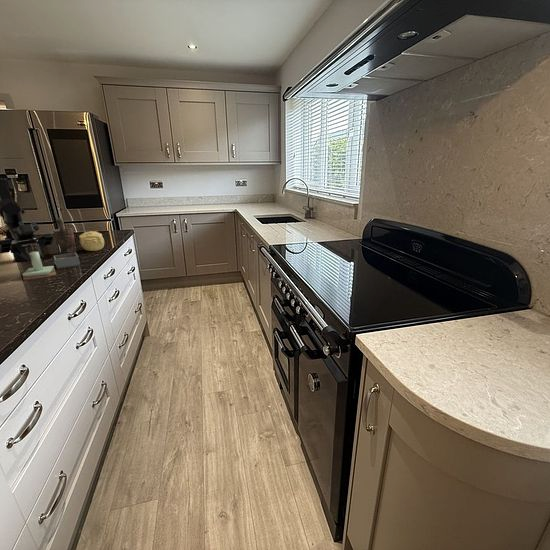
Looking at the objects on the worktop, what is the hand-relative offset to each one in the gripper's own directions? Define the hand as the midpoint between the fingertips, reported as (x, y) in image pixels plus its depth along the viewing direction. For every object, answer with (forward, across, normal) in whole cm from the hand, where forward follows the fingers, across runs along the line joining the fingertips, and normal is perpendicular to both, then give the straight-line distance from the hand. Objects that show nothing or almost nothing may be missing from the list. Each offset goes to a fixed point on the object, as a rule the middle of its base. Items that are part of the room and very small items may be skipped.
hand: (36, 258), depth 126 cm
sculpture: (-12, +36, +24) cm, 45 cm away
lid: (+4, 0, +6) cm, 7 cm away
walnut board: (+4, 0, +6) cm, 8 cm away
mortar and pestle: (-14, +24, +25) cm, 38 cm away
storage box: (+1, +13, +10) cm, 17 cm away
